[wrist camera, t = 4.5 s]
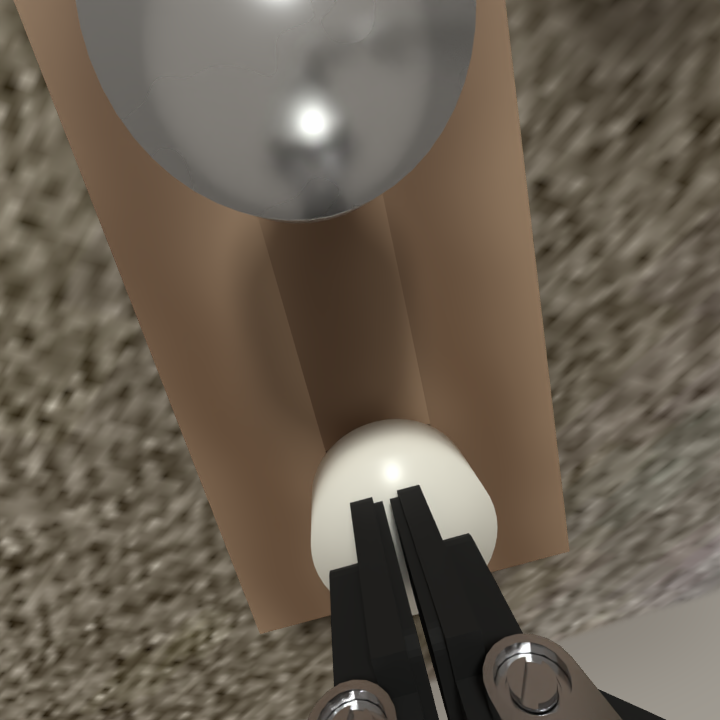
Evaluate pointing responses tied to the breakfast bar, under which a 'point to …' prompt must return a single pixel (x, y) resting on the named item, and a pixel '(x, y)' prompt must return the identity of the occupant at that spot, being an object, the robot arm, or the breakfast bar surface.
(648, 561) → the breakfast bar surface
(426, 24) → the middle knob
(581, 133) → the breakfast bar surface
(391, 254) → the knob block
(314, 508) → the knob
